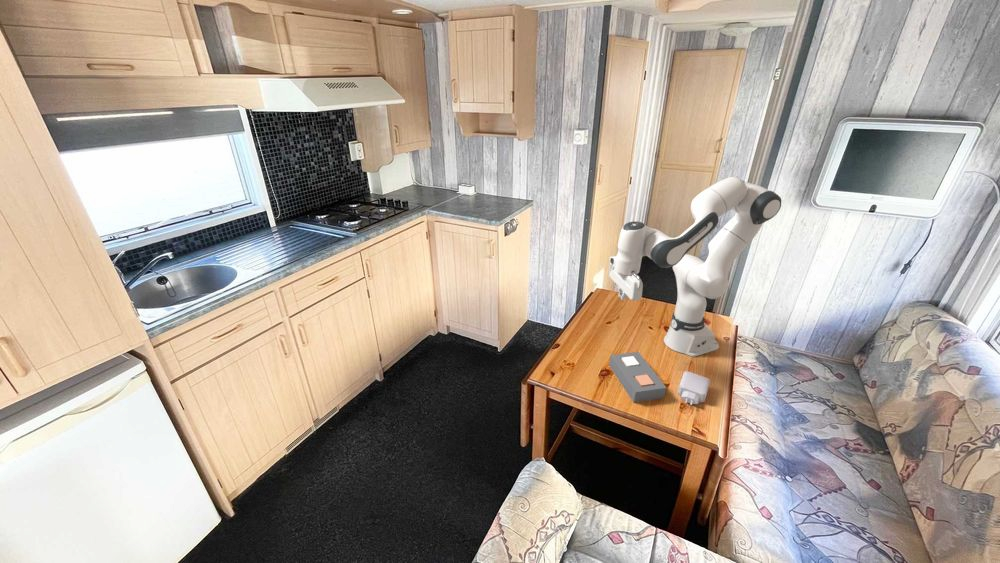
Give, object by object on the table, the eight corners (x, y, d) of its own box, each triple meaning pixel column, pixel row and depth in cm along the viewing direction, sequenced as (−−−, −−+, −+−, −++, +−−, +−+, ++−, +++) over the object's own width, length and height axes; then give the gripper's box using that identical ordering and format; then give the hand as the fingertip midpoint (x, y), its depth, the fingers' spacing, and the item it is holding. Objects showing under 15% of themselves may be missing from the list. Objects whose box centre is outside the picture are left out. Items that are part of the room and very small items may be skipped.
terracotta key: (645, 380, 151) (647, 374, 150) (652, 389, 147) (654, 383, 146) (633, 382, 150) (634, 376, 149) (640, 391, 146) (641, 385, 145)
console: (636, 361, 165) (638, 351, 162) (663, 397, 146) (666, 387, 144) (608, 365, 163) (610, 355, 160) (633, 402, 144) (635, 392, 142)
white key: (632, 362, 161) (633, 356, 159) (638, 370, 156) (639, 364, 155) (620, 363, 160) (621, 357, 159) (626, 371, 156) (627, 365, 154)
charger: (673, 403, 144) (681, 379, 155) (701, 414, 140) (707, 388, 151) (676, 393, 142) (684, 370, 153) (704, 404, 138) (710, 379, 149)
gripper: (649, 278, 137) (643, 312, 144) (623, 254, 155) (618, 285, 162) (632, 279, 136) (626, 313, 143) (607, 255, 154) (603, 286, 161)
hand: (622, 298), depth 152 cm, fingers closed
